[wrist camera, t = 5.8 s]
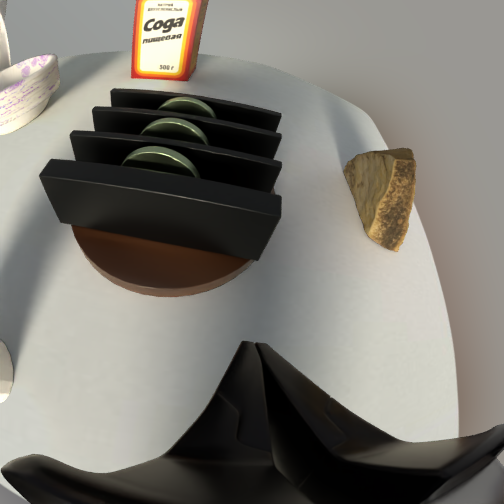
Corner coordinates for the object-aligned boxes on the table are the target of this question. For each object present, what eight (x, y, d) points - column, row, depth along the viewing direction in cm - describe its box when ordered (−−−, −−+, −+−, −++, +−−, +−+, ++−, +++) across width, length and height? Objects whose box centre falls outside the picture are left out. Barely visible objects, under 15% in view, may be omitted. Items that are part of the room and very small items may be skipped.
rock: (329, 142, 29) (324, 184, 23) (394, 117, 24) (413, 152, 18) (365, 211, 34) (366, 265, 28) (422, 193, 29) (439, 246, 23)
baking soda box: (131, 78, 33) (137, -11, 20) (144, 64, 36) (153, -14, 23) (187, 81, 35) (203, -11, 21) (195, 68, 38) (211, -12, 25)
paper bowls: (68, 83, 30) (65, 43, 24) (53, 128, 24) (43, 75, 18) (-2, 109, 25) (-11, 73, 18) (-31, 162, 19) (-49, 120, 12)
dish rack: (254, 268, 19) (285, 210, 14) (64, 230, 17) (35, 168, 11) (263, 162, 25) (283, 106, 20) (118, 138, 23) (114, 81, 18)
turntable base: (227, 338, 18) (231, 333, 17) (38, 237, 18) (32, 227, 16) (291, 176, 28) (296, 166, 27) (147, 123, 28) (147, 112, 26)
